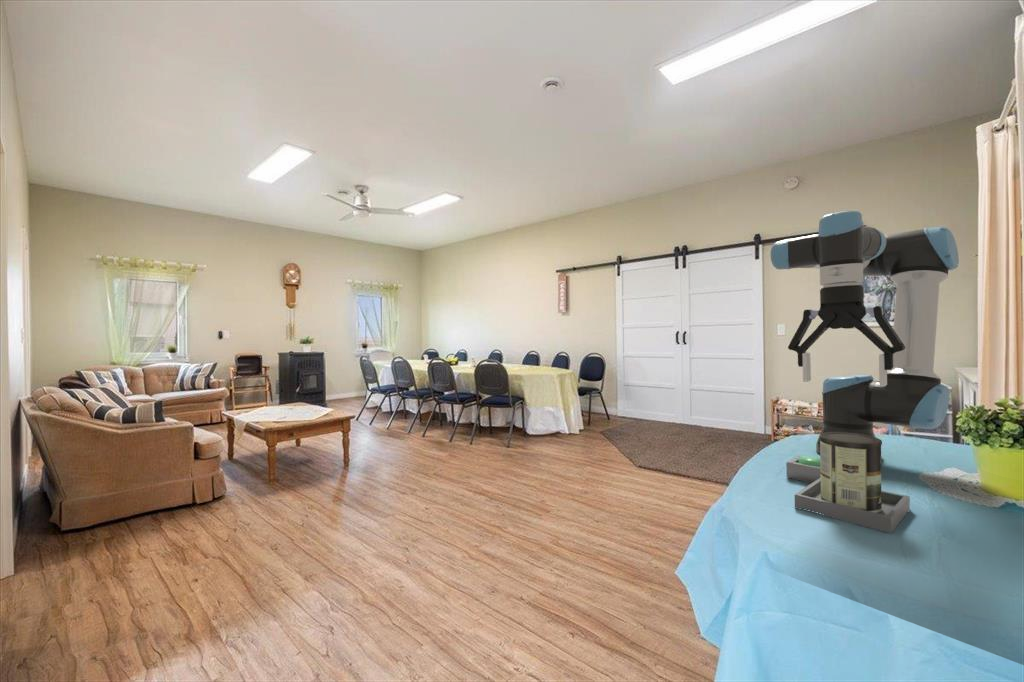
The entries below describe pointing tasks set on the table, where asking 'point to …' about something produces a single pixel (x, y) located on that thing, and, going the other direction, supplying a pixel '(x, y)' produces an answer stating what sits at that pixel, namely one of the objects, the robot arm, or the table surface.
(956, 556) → the table surface
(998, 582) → the table surface
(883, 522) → the shallow gray tray
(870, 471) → the coffee can
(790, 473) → the button housing
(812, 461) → the button
